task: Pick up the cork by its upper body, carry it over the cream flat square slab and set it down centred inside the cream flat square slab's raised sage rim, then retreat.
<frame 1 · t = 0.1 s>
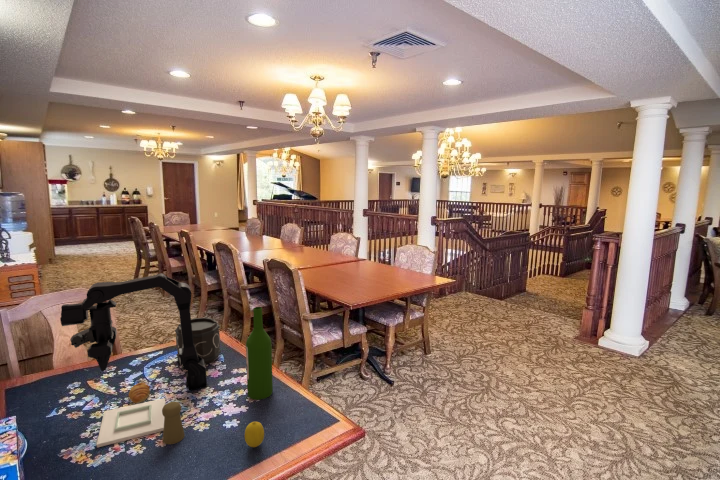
hand: (105, 364, 131), 15 cm above the table, fingers open, 9 cm apart
dark grey round container: (200, 358, 168), on the table
pastry: (140, 397, 138), on the table
lemon: (254, 447, 113), on the table
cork: (173, 438, 116), on the table
wine bottle: (260, 393, 141), on the table
cream flat square slab: (134, 421, 124), on the table
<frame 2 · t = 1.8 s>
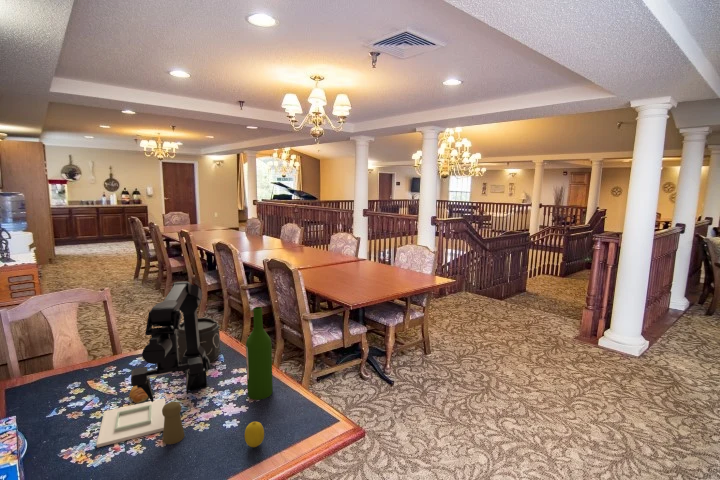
hand: (170, 397, 114), 13 cm above the table, fingers open, 9 cm apart
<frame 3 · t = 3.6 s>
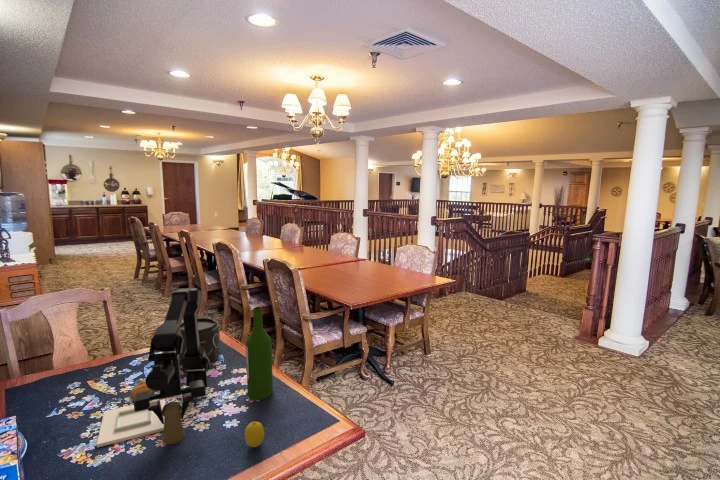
hand: (172, 420, 116), 6 cm above the table, fingers closed on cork, 5 cm apart
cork: (173, 438, 116), on the table, touching gripper
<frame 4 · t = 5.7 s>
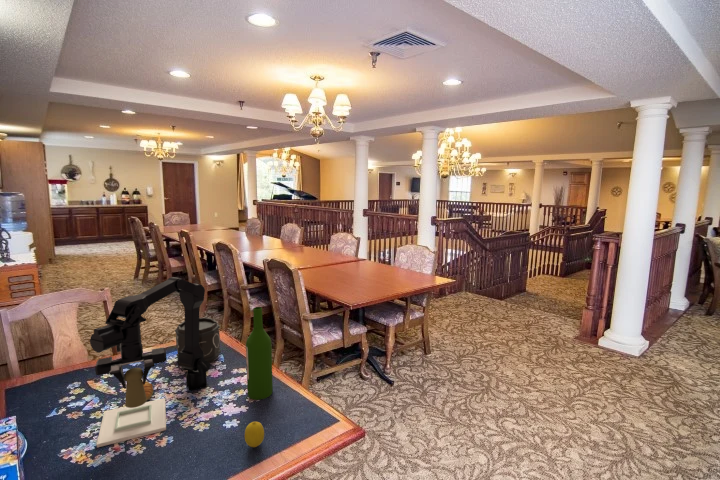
hand: (134, 385, 121), 13 cm above the table, fingers closed on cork, 5 cm apart
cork: (136, 402, 122), point 7 cm above the table, touching gripper
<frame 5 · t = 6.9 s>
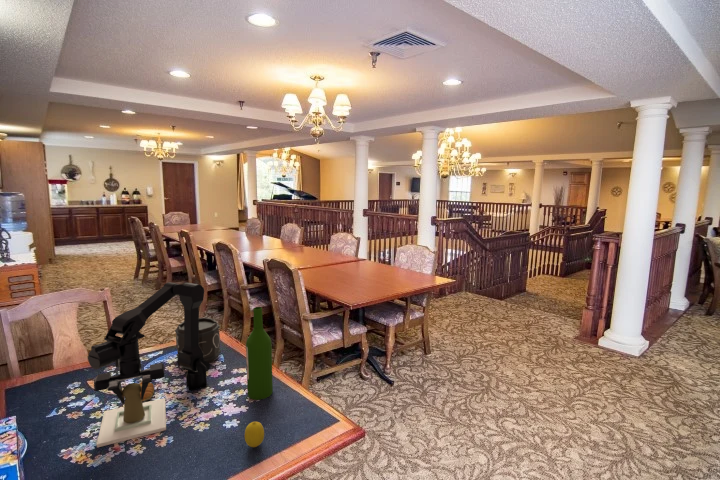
hand: (133, 401, 123), 7 cm above the table, fingers closed on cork, 5 cm apart
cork: (134, 417, 123), point 1 cm above the table, touching gripper
when the fingers open (7 cm above the table, at t = 7.7 s): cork stays where it is, resting on cream flat square slab.
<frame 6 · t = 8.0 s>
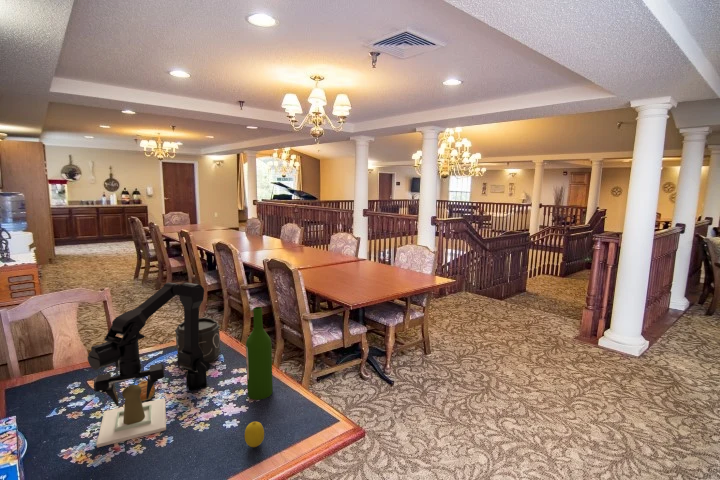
hand: (132, 401, 123), 7 cm above the table, fingers open, 8 cm apart
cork: (134, 419, 124), point 1 cm above the table, touching cream flat square slab
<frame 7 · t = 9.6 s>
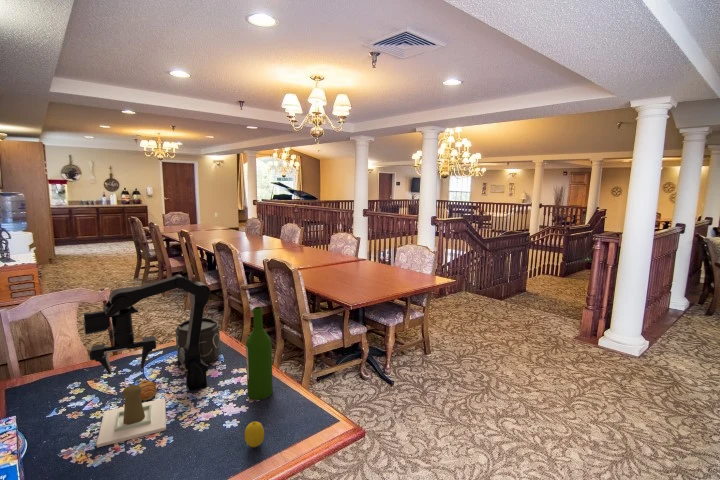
hand: (126, 371, 130), 13 cm above the table, fingers open, 9 cm apart
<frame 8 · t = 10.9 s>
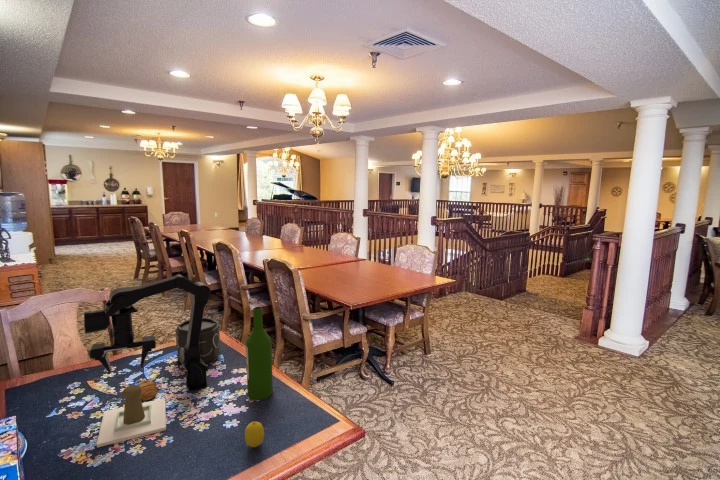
hand: (126, 370, 130), 13 cm above the table, fingers open, 9 cm apart
at the end: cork 0.0 cm off-centre on the cream flat square slab, point 0.8 cm above the cream flat square slab's base; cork tilted 0°; the gripper is holding nothing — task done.
